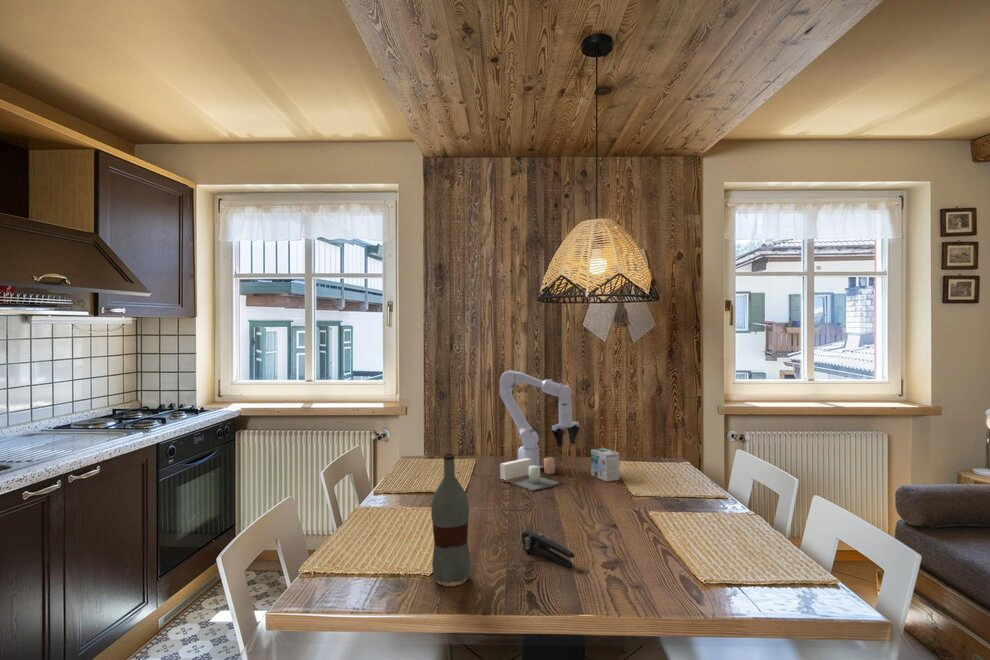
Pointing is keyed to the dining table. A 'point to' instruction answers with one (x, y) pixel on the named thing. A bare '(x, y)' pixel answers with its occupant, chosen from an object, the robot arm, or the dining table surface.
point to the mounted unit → (515, 469)
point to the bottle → (450, 527)
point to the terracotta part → (549, 465)
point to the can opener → (545, 547)
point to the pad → (543, 484)
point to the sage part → (534, 474)
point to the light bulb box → (605, 464)
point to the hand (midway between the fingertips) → (566, 444)
